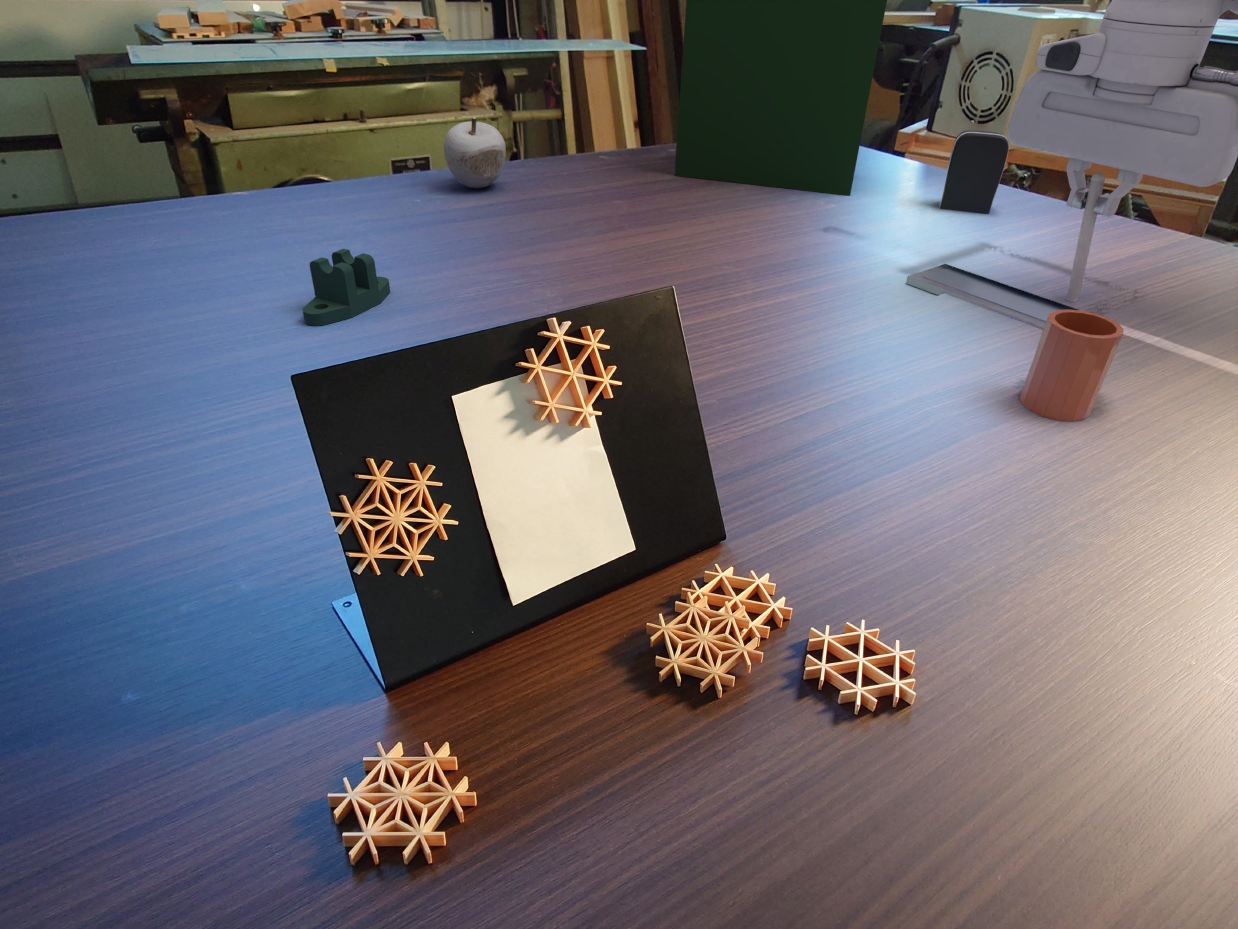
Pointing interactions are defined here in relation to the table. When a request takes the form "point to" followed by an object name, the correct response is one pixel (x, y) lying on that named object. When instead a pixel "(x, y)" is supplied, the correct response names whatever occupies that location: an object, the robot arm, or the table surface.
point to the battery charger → (974, 171)
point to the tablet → (987, 294)
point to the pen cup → (1070, 364)
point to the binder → (776, 91)
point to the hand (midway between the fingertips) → (1089, 210)
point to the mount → (343, 288)
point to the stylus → (1085, 238)
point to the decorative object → (475, 153)
